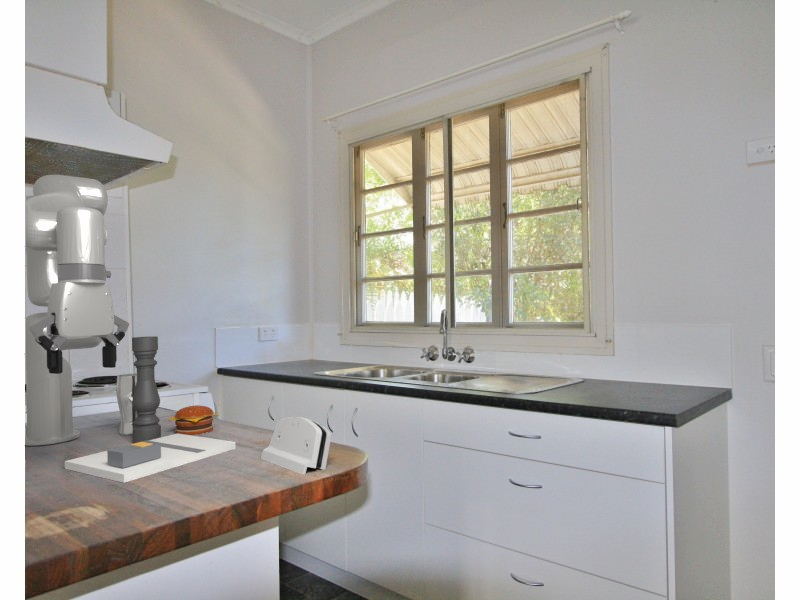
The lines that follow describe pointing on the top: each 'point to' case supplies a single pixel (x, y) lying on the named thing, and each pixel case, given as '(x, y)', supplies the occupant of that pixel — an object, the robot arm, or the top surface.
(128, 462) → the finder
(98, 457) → the white rectangular board
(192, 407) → the hamburger
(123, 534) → the top surface
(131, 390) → the beer glass
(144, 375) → the candle holder
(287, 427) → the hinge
